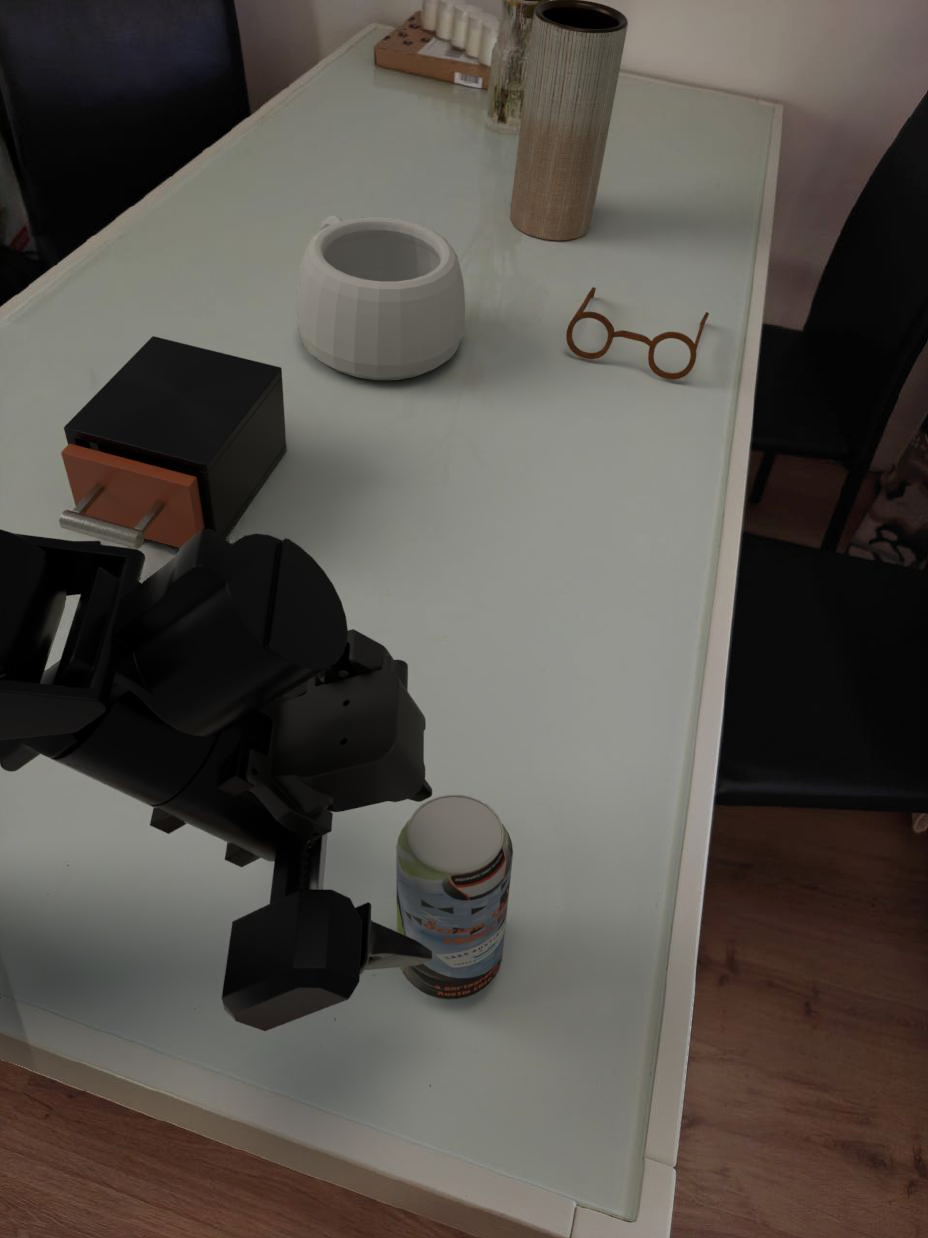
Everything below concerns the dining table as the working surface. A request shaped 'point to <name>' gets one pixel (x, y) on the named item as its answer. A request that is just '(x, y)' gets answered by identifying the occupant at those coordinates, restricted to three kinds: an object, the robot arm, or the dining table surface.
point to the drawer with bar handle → (131, 497)
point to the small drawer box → (194, 420)
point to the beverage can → (454, 893)
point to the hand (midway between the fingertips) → (426, 872)
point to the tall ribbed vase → (566, 116)
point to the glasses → (633, 336)
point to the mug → (380, 298)
